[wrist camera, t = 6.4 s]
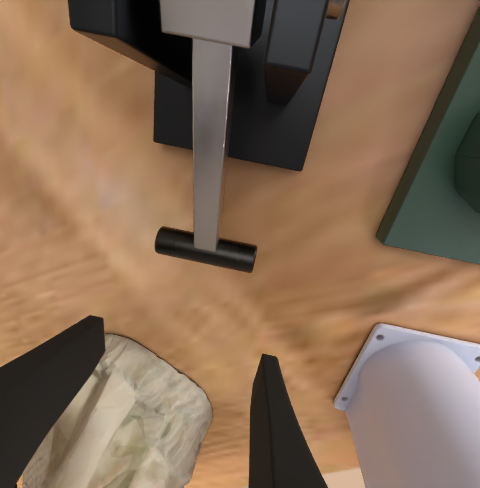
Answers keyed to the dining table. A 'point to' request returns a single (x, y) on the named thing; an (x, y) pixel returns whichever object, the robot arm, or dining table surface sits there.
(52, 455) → the grey rock formation
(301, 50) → the bracket
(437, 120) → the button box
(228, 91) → the lever
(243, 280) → the dining table surface
